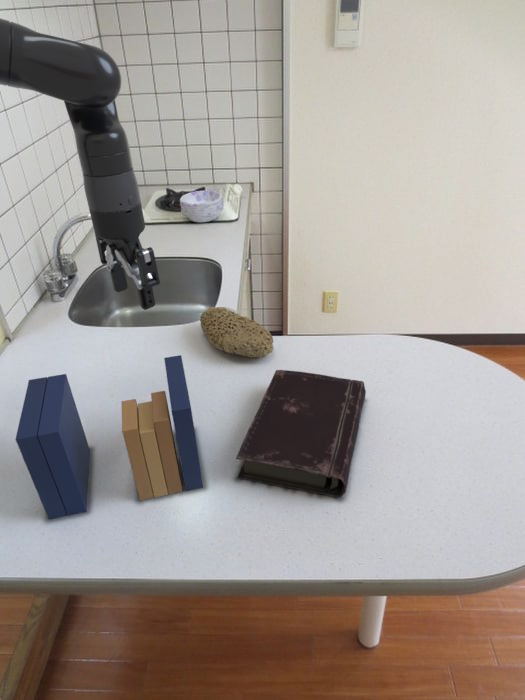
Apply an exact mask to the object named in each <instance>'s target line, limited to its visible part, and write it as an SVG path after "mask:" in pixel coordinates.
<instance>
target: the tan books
mask: <svg viewBox="0 0 525 700" xmlns="http://www.w3.org/2000/svg"><path fill="white" fill-rule="evenodd" d="M150 399H151V400H149V401H143V402H138V401H137V399H136V398H132V399H126V400H121V433H122V436H123V441H124V444H125V448H126V452H127V456H128V459H129V463H130V467H131V471H132V475H133V479H134V483H135V487H136V491H137V494H138V499H139V501H145V500H149V499H153V498H159V497H164V496H168V495H173V494H179V493H183V486H182V479H181V472H180V471H181V470H180V465H179V459H178V458H179V457H178V452H177V449H176V448H177V447H176V442H175V435H174V431H173V426H172V420H171V414H170V408H169V405H168V398H167V393H166V390H159V391H155V392H151V393H150Z"/></svg>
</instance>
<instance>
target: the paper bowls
mask: <svg viewBox="0 0 525 700" xmlns="http://www.w3.org/2000/svg"><path fill="white" fill-rule="evenodd" d="M223 198H224V196H223V194H222V193H220V192H219V191H215V190H208V189H207V190H205V189H204V190H196V191H191V192H188V193H185V194H183V195H182V196H181V197H180V198H179V205H180V211H181V214H182V215H183V216H186V217H187V219H189V221H191V222H194V223H200V224H201V223H202V224H203V223H209V222H212V221H214V220H216V219H217V218H218V216H219V214H220V213H222V212H223V211H224V209H225V208H224V206H225V205H224V199H223Z"/></svg>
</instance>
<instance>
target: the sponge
mask: <svg viewBox="0 0 525 700" xmlns="http://www.w3.org/2000/svg"><path fill="white" fill-rule="evenodd" d="M199 322H200V327H201V330H202V332H203V333H204V334H205V336H206V337H207V340H208V341H209V343H210V344H211V345H213V346H214V347H215V348H217V349H219V350H220V351H224V352H225V353H229V354H232V355H239V356H244V357H248V358H254V357H255V358H263V357H267V356H268V355H270V354H271V353H272V352H273V351H274V337H273V335H272V334H271V332H270V331H269V330H268V329H267V328H266V327H264V326H262V324H260V323H258V322H257V321H256V320H253V319H250V318H249V317H248V316H242V315H241V314H239V313H237V312H236V310H235V309H232V308H229V307H227V306H212V307H209V308H207V309H206V310H204V311H202V313H201V314H200V319H199Z"/></svg>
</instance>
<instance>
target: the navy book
mask: <svg viewBox="0 0 525 700" xmlns="http://www.w3.org/2000/svg"><path fill="white" fill-rule="evenodd" d="M163 360H164V366H165V372H166V381H167V389H168V394H169V402H170V410H171V415H172V421H173V427H174V431H175V432H174V433H175V437H176V443H177V444H176V445H177V448H178V453H179V460H180V464H181V471H182V477H183V481H184V488H185V491H186V492H188V491H193V490H198V489H203V488H204V484H203V477H202V471H201V470H202V469H201V465H200V464H201V463H200V458H199V451H198V443H197V437H196V432H195V425H194V419H193V411H192V405H191V400H190V395H189V390H188V385H187V384H188V383H187V379H186V374H185V368H184V362H183V358H182V355H181V354H179V355H173V356H168V357H164V358H163Z"/></svg>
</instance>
